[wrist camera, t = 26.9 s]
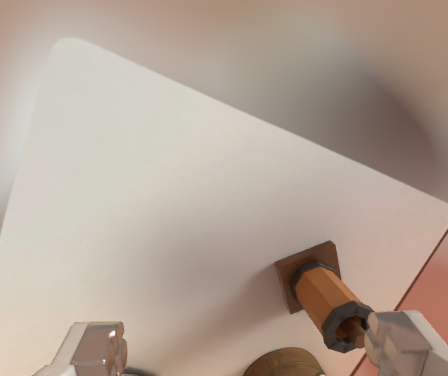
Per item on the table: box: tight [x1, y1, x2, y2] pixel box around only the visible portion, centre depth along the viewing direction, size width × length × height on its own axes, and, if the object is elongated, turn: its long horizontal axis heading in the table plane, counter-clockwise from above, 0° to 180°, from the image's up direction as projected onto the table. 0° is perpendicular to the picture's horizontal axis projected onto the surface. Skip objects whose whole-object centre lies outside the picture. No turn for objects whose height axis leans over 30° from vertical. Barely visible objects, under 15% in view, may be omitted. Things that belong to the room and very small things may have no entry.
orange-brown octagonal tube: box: [290, 261, 374, 353], centre depth 44 cm, size 7×7×10 cm
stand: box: [275, 241, 365, 348], centre depth 44 cm, size 9×9×14 cm
